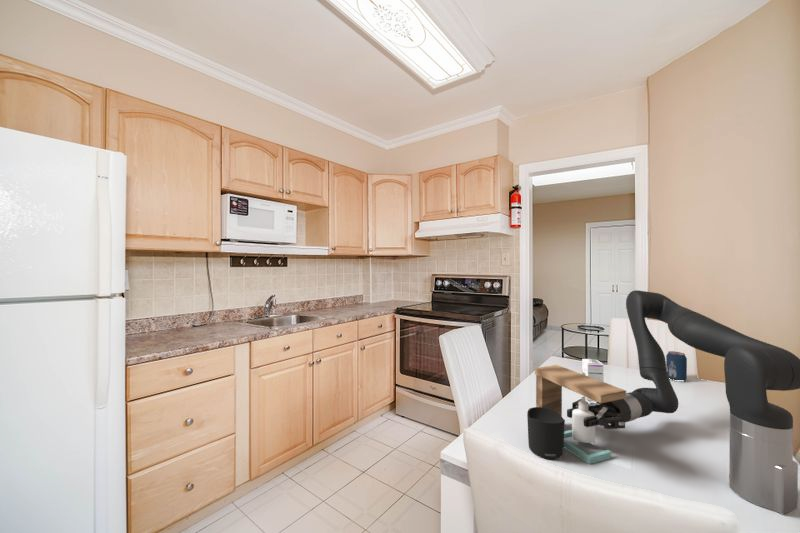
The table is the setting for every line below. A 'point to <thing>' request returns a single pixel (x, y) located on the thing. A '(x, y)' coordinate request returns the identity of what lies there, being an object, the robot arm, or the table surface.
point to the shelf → (570, 387)
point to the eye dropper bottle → (582, 423)
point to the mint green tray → (585, 449)
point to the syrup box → (592, 370)
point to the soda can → (676, 365)
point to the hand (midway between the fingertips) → (576, 418)
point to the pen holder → (545, 432)
